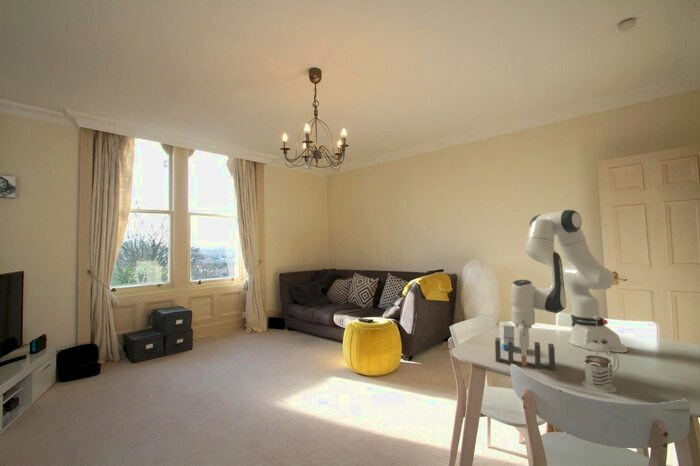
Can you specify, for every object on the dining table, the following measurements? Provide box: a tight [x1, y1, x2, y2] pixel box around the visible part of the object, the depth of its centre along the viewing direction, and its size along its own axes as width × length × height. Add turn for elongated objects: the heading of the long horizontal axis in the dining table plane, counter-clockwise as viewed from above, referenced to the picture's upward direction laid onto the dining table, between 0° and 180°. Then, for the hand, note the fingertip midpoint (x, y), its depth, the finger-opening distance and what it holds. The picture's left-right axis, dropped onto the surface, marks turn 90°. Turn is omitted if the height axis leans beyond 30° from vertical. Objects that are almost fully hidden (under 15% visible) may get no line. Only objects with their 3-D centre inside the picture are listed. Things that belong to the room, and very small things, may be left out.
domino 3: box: [520, 350, 528, 367], centre depth 136 cm, size 2×5×9 cm, turn 153°
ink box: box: [498, 321, 515, 352], centre depth 157 cm, size 9×5×12 cm, turn 168°
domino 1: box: [494, 337, 502, 363], centre depth 141 cm, size 2×5×9 cm, turn 153°
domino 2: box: [507, 339, 514, 364], centre depth 139 cm, size 2×5×9 cm, turn 153°
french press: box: [581, 316, 620, 393], centre depth 115 cm, size 10×12×25 cm
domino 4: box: [533, 341, 542, 369], centre depth 134 cm, size 2×5×9 cm, turn 153°
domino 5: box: [547, 343, 556, 371], centre depth 132 cm, size 2×5×9 cm, turn 153°
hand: (523, 351), depth 136 cm, fingers open, 8 cm apart
